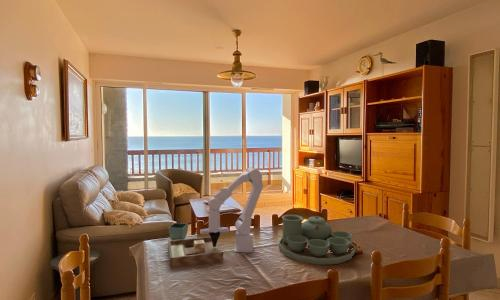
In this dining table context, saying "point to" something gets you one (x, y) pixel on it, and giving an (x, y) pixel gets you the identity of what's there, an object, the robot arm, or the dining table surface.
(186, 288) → the dining table surface
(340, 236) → the tea set
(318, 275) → the dining table surface
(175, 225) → the flower pot
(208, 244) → the walnut box
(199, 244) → the maple block
